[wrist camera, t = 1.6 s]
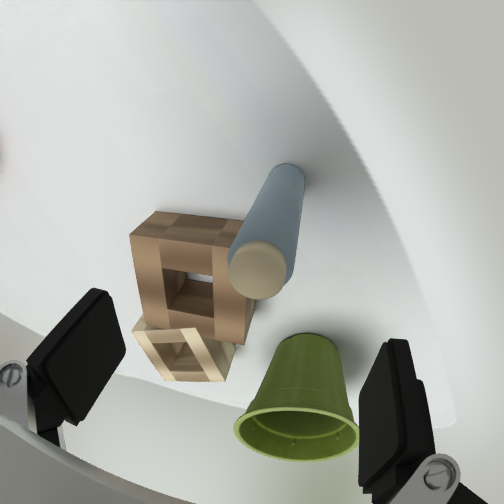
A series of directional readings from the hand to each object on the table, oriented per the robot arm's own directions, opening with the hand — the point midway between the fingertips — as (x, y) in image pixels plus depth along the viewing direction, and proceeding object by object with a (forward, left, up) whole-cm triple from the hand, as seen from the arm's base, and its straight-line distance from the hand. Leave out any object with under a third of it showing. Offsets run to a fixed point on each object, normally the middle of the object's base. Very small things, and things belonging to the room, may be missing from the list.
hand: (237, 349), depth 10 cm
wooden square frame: (+9, -7, -18) cm, 21 cm away
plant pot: (+19, +4, -18) cm, 27 cm away
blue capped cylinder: (0, 0, -18) cm, 18 cm away
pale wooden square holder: (+18, -9, -18) cm, 27 cm away
